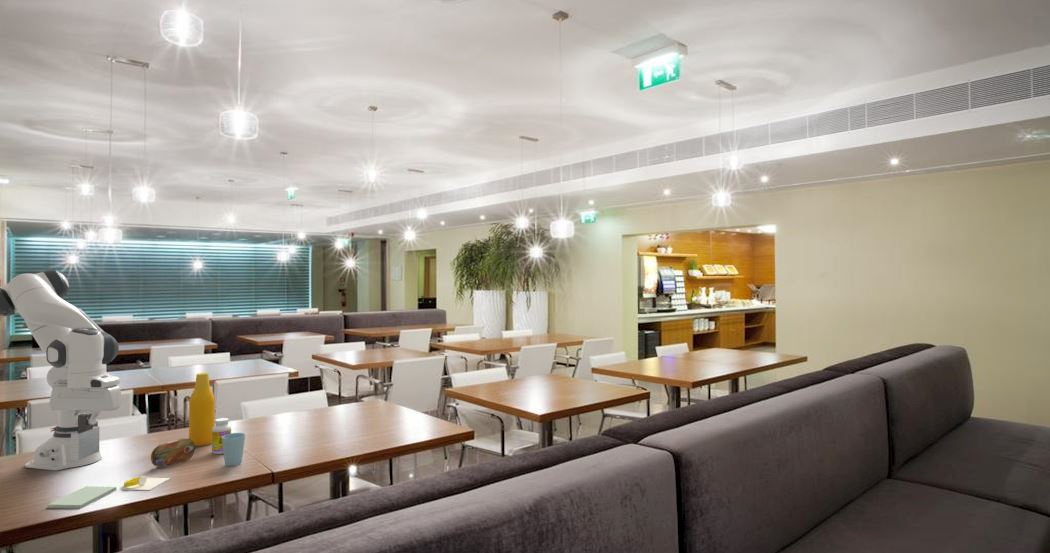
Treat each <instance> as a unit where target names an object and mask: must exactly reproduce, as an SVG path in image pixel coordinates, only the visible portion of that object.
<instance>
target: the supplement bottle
mask: <svg viewBox="0 0 1050 553" xmlns="http://www.w3.org/2000/svg"><path fill="white" fill-rule="evenodd" d="M231 433H232V426H231V424H229V418H228V417H220V418H217V419H215V426H214V427H213V428H212V444H211V453H212V454H215V455H221V454H223V455H224V451H223V443H222V436H224V435H227V434H231Z"/></svg>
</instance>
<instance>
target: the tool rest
mask: <svg viewBox="0 0 1050 553" xmlns="http://www.w3.org/2000/svg"><path fill="white" fill-rule="evenodd" d="M116 491H117V487H116V486H88V485H87V486H84V487H82V488H80V489H78V490H75V491H74V492H71V493H69V494H67V495H64V496H62V497H60V498H59V499H56V500H54V501H52V502H50V503H47V508H48V509H82V508H84V507H86V506H88V505H90V504H92V503H94V502H96V501H98V500H100V499H102V498H104V497H105V496H107V495H110V494H111V493H113V492H116Z"/></svg>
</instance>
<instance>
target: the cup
mask: <svg viewBox="0 0 1050 553" xmlns="http://www.w3.org/2000/svg"><path fill="white" fill-rule="evenodd" d="M245 440H246V434H245V433H244V432H231V434H227V435H224V436H222V443H223V451H224V453H223V458H224V465H225V466H226V467H235V466H238V465H241V464H242V462H243V455H244V446H245V442H246V441H245Z"/></svg>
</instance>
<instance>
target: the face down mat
mask: <svg viewBox="0 0 1050 553" xmlns="http://www.w3.org/2000/svg"><path fill="white" fill-rule="evenodd" d="M146 479H147V481H146V483H145V484H144V485H139V484H138V485H134V486H130V487H124V488H122V489H121V490H122V491H144V492H145V491H151V490H153V489H155V488H157V487H159V486H160V485H162V484H165V483H166V482H167V481H170V480H171V478H170V477H146Z"/></svg>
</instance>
